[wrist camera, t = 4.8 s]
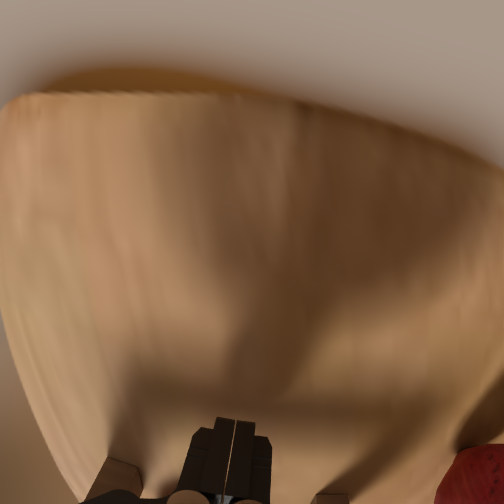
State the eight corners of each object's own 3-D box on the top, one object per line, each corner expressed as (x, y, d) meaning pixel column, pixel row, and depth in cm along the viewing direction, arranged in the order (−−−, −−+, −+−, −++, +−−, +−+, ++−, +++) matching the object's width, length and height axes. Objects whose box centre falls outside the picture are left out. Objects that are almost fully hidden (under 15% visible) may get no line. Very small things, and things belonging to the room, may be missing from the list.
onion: (464, 412, 12) (523, 527, 4) (516, 417, 12) (569, 502, 4) (402, 479, 14) (429, 585, 6) (461, 477, 14) (493, 561, 6)
